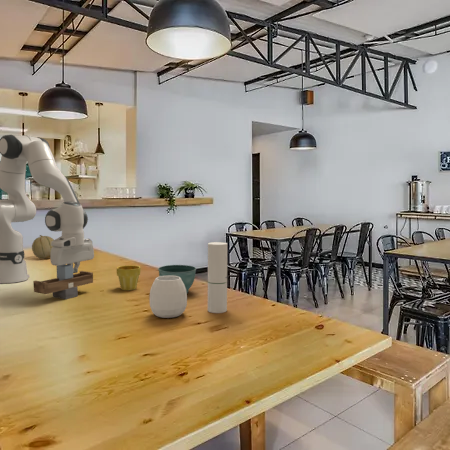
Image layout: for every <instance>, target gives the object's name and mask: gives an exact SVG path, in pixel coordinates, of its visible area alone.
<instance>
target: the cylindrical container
mask: <svg viewBox="0 0 450 450" xmlns="http://www.w3.org/2000/svg"><path fill="white" fill-rule="evenodd" d="M227 311H228V242H222V241H221V242H220V241H215V242H214V241H213V242H211V241H210V242H208V243H207V312H209V313H212V314H223V313H226V312H227Z"/></svg>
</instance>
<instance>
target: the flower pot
mask: <svg viewBox="0 0 450 450" xmlns="http://www.w3.org/2000/svg"><path fill="white" fill-rule="evenodd" d="M157 270H158V275H159V276H158V277H160V276H168V275H170V276H178V277H180V278H181V279H182V281H183V283H184V285H185V288H186V292H187V294H188V293H189V290H190V289H191V287H192V285H193V284H194V282H195V277H196V272H197V267H196V266H194V265H187V264H186V265H185V264H170V265H163V266H160V267H158V268H157Z"/></svg>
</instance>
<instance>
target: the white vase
mask: <svg viewBox="0 0 450 450" xmlns="http://www.w3.org/2000/svg"><path fill="white" fill-rule="evenodd" d="M149 290H150V291H149V307H150V309H151V312H152V314H153V315H155V316H156V317H158V318H163V319H164V318H167V319H169V318H170V319H171V318H177V317H180V316H181V315H182V314H183V313H184V312H185V310H186V308H187V305H188V295H187V294H188V293H187V292H186V288H185V285H184V283H183V281H182V279H181V278H180V277H178V276H170V275H168V276H160V277H159V276H157V277H155V279H154V280H153V283H152V284H151V287H150V289H149Z"/></svg>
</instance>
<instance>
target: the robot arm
mask: <svg viewBox="0 0 450 450" xmlns="http://www.w3.org/2000/svg"><path fill="white" fill-rule="evenodd" d="M49 143H50V142H48V141H47V139H45V138H42V137H38V136H37V137H36V136H32V135H19V134H18V135H16V134H15V135H14V134H5V135H2V136H1V137H0V155H1V156H0V157H1V158H0V190H2V191H3V192H4V193H7V196H8V198H7V199H0V284H13V283H20V282H24V281H27V280H28V279H29V278H30V274H28V267H27V262H26V260H25V250H24V236H23V234H22V233H21V232H20V231H18V230H15V229H14V228H13V226H12V223H23V222H28V221H31V220H33V219H35V217H36V214H37V207H36V205H35V203H34V202H33V201H31V200H30V198H29V197H28V195H27V192H26V187H25V186H26V185H25V184H26V173H27V171H26V169H27V165H28V168H29V172H30V175H31V177H32V179H33V180H34V181H35V183H37V184H39V185H41V186H44V187H46V188H50V189H52V190H54V191H56V192H58V194H60V196H61V197H62V199H63V202H62V203H61V205H60V206H58V207H56V208H53V209H49V210H48V211H47V212H46V214H45V217H44V218H45V219H44V223H45V224H44V225H45V226H46V228H47V229H48V230H49V231H51V232H61V236H59V237H58V238H55V239H54V240H53V241H52V242H51V246H54V247H52V249H51V257H50V263H51V265H52V266H56V267H57V266H59V265H64V264H65V265H73V274H78V272H79V267H80V265H81V262H84V261H85V262H86V261H92V260H93V259H94V258H95V250H94V246H93V241H92V239H91V238H85V232H84V229H85V227H86V226H87V224H88V220H89V219H88V214H87V213H86V211H85V210H84V208H83V206H82V204H81V203H80V201H79V198H78V197H77V195H76V192H75V191H74V188H73V186H72V184H71V182H70V180H69V179H68V178H67V177H66V176H65V175H64V174H63V173H62V172H61V170H60V169H59V166H57V163H56V160H55V158H54V154H53V153H52V150H51V147H50V144H49Z"/></svg>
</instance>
